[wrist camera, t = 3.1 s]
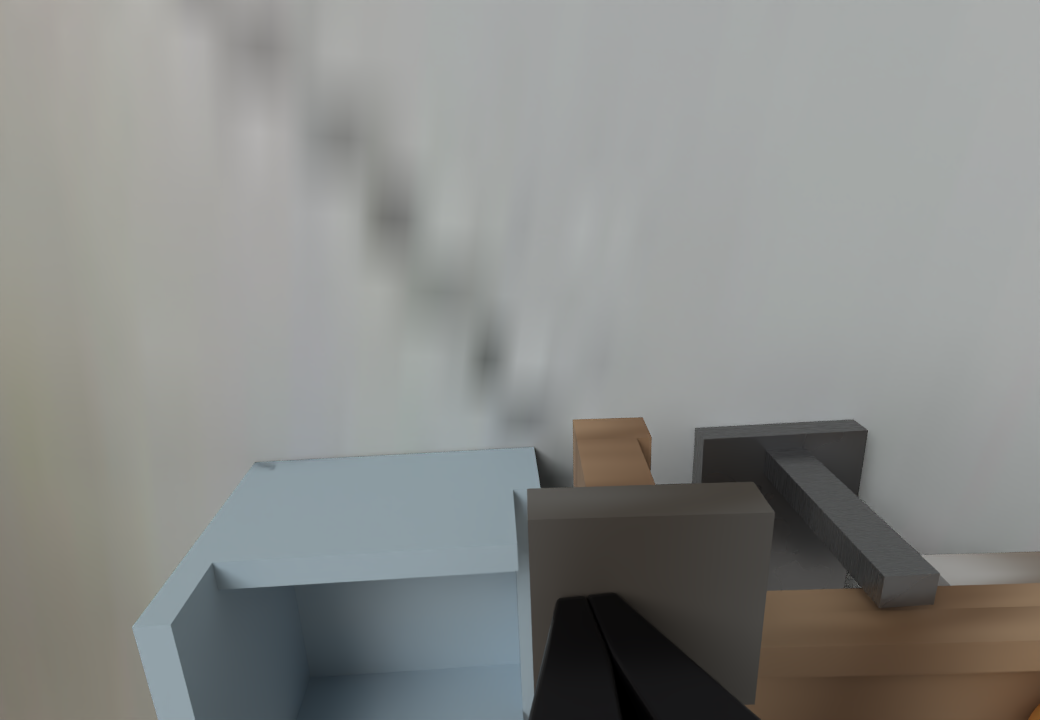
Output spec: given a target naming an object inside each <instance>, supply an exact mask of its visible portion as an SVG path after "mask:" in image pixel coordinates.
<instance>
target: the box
mask: <svg viewBox="0 0 1040 720" xmlns="http://www.w3.org/2000/svg"><path fill="white" fill-rule="evenodd" d="M530 488H540V482H539V476H538V469H537V463H536V457H535V451H534V447H526V448H508V449H489V450H471V451H453V452H435V453H417V454H399V455H380V456H362V457H344V458H326V459H308V460H290V461H272V462H255V463H254V465H253V466H252V467H251V469H250V470H249V471H248V473H247V474H246V475H245V477H244V478H243V479H242V481H241V482H240V483H239V485H238V486H237V487H236V489H235V490H234V491H233V493H232V494H231V495H230V497H229V498H228V499H227V501H226V502H225V503H224V505H223V506H222V507H221V509H220V510H219V511H218V513H217V514H216V515H215V517H214V518H213V519H212V521H211V522H210V523H209V525H208V526H207V528H206V529H205V530H204V532H203V533H202V534H201V536H200V537H199V538H198V540H197V541H196V542H195V544H194V545H193V546H192V548H191V549H190V550H189V552H188V553H187V554H186V556H185V557H184V558H183V560H182V561H181V562H180V564H179V565H178V566H177V568H176V569H175V570H174V572H173V573H172V574H171V576H170V577H169V578H168V580H167V581H166V582H165V584H164V585H163V586H162V588H161V589H160V591H159V592H158V593H157V595H156V596H155V597H154V599H153V600H152V601H151V603H150V604H149V605H148V607H147V608H146V609H145V611H144V612H143V613H142V615H141V616H140V617H139V619H138V620H137V621H136V623H135V624H134V625H133V627H132V629H133V632H134V636H135V639H136V643H137V646H138V650H139V654H140V657H141V661H142V664H143V668H144V671H145V675H146V678H147V682H148V685H149V689H150V692H151V696H152V700H153V703H154V707H155V710H156V714H157V717H158V720H528V719H529V714H530V710H531V706H532V702H533V697H534V680H533V652H532V625H531V598H530V571H529V544H528V514H527V489H530Z"/></svg>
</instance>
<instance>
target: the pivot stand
mask: <svg viewBox="0 0 1040 720" xmlns="http://www.w3.org/2000/svg"><path fill="white" fill-rule="evenodd" d="M867 433H868V430H867V429H865V428H864V427H863V426H861V425H860V424H859V423H857V422H856V421H854V420H837V421H818V422H800V423H782V424H763V425H745V426H727V427H708V428H695V445H694V463H693V480H692V483H725V482H754V483H755V485H756V486H757V488H758V489H759V490H760V492H761V493H762V495H763V496H764V498H765V499H766V500H767V502H768V503H769V505H770V506H771V507H772V509H773V510H774V512H775V517H774V527H773V536H772V546H771V555H770V565H769V574H768V584H767V591H779V590H814V589H844V585H845V578H846V572H847V571H848V572H849V574H850V575H851V576H852V577H853V578H854V579H855V581H856V582H857V583H858V584H859V585H860V586H861V587H862V589H863V590H864V591H865V592H866V593H867V594H868V596H869V597H870V598H871V599H872V600H873V601H874V603H875V604H876V605H877V606H878V607H879V608H888V607H904V606H919V605H934V600H935V595H936V591H937V586H938V581H939V576H940V573H939V572H938V571H937V570H936V569H935V568H934V567H933V566H932V565H931V564H929V563H928V562H927V561H926V560H925V559H924V558H923V557H922V556H921V555H920V554H919V553H918V552H917V551H915V550H914V549H913V548H912V547H911V546H910V545H909V544H908V543H907V542H906V541H905V540H904V539H903V538H901V537H900V536H899V535H898V534H897V533H896V532H895V531H894V530H893V529H892V528H891V527H890V526H889V525H887V524H886V523H885V522H884V521H883V520H882V519H881V518H880V517H879V516H878V515H877V514H876V513H875V512H873V511H872V510H871V509H870V508H869V507H868V506H867V505H866V504H865V503H864V502H863V501H862V500H861V499H859V498H858V492H859V486H860V479H861V473H862V466H863V459H864V453H865V446H866V440H867Z"/></svg>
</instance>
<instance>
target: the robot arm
mask: <svg viewBox="0 0 1040 720" xmlns="http://www.w3.org/2000/svg"><path fill="white" fill-rule="evenodd" d="M528 720H761V719H760V718H759V717H758V716H756V715H755V714H754V713H753V712H752V711H751V710H750V709H748V708H747V707H746V706H745V705H744V704H743V703H742V702H740V701H739V700H738V699H737V698H736V697H735V696H734V695H732V694H731V693H730V692H729V691H728V690H727V689H726V688H724V687H723V686H722V685H721V684H720V683H719V682H718V681H716V680H715V679H714V678H713V677H712V676H711V675H710V674H708V673H707V672H706V671H705V670H704V669H703V668H702V667H700V666H699V665H698V664H697V663H696V662H695V661H694V660H692V659H691V658H690V657H689V656H688V655H687V654H686V653H684V652H683V651H682V650H681V649H680V648H679V647H677V646H676V645H675V644H674V643H673V642H672V641H671V640H669V639H668V638H667V637H666V636H665V635H664V634H663V633H661V632H660V631H659V630H658V629H657V628H656V627H655V626H653V625H652V624H651V623H650V622H649V621H648V620H647V619H645V618H644V617H643V616H642V615H641V614H640V613H639V612H637V611H636V610H635V609H634V608H633V607H632V606H631V605H629V604H628V603H627V602H626V601H625V600H624V599H623V598H621V597H620V596H619V595H618V594H616V593H613V592H609V593H599V594H591V595H589V596H587V598H586V597H584V596H581V595H580V596H571V597H562V598H559V599H557V601H556V604H555V608H554V612H553V616H552V621H551V625H550V629H549V633H548V638H547V642H546V646H545V650H544V655H543V659H542V663H541V667H540V672H539V676H538V680H537V684H536V689H535V693H534V697H533V702H532V706H531V710H530V714H529V719H528Z"/></svg>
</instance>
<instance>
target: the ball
mask: <svg viewBox="0 0 1040 720" xmlns="http://www.w3.org/2000/svg"><path fill="white" fill-rule="evenodd" d="M1028 720H1040V704H1039V705H1038V706H1037V707H1036V708H1035V710H1034V711H1033V712H1032V714H1031V715H1030V717H1029V719H1028Z"/></svg>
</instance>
